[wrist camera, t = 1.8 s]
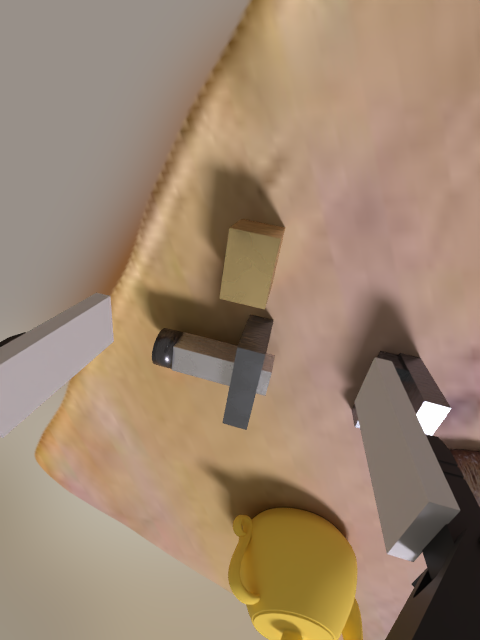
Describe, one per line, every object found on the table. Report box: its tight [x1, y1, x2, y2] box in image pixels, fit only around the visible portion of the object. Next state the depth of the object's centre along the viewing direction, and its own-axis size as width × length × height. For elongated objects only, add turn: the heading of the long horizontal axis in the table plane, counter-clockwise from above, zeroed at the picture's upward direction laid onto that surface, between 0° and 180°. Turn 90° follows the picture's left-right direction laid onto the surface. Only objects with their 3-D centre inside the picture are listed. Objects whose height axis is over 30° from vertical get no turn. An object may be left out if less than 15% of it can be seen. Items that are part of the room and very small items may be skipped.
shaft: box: [152, 328, 275, 395], centre depth 30 cm, size 12×4×4 cm, turn 80°
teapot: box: [228, 508, 363, 640], centre depth 41 cm, size 25×18×14 cm
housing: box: [223, 315, 451, 435], centre depth 29 cm, size 18×9×7 cm, turn 80°
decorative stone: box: [450, 450, 480, 506], centre depth 33 cm, size 12×12×6 cm
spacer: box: [219, 219, 285, 310], centre depth 25 cm, size 4×6×5 cm, turn 170°
